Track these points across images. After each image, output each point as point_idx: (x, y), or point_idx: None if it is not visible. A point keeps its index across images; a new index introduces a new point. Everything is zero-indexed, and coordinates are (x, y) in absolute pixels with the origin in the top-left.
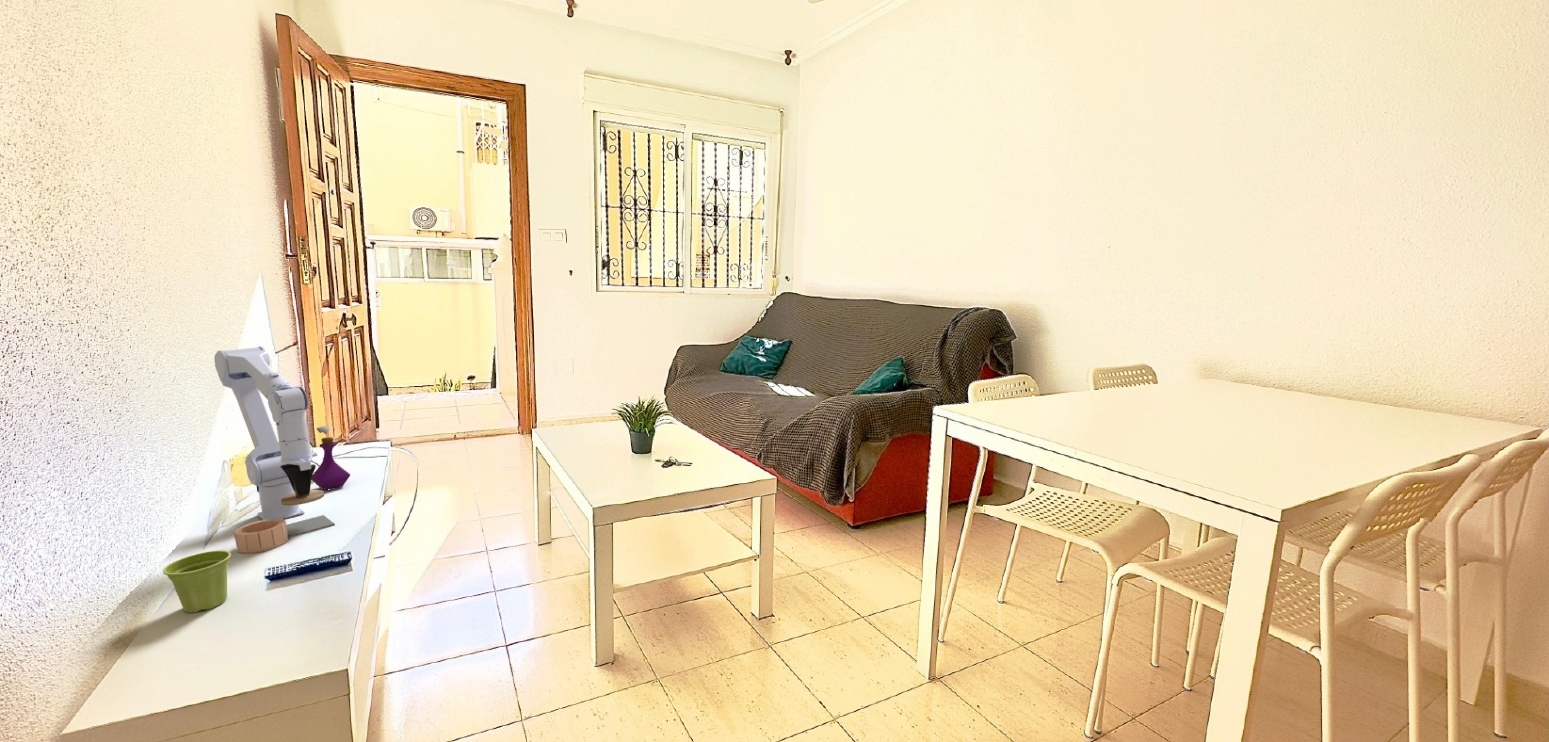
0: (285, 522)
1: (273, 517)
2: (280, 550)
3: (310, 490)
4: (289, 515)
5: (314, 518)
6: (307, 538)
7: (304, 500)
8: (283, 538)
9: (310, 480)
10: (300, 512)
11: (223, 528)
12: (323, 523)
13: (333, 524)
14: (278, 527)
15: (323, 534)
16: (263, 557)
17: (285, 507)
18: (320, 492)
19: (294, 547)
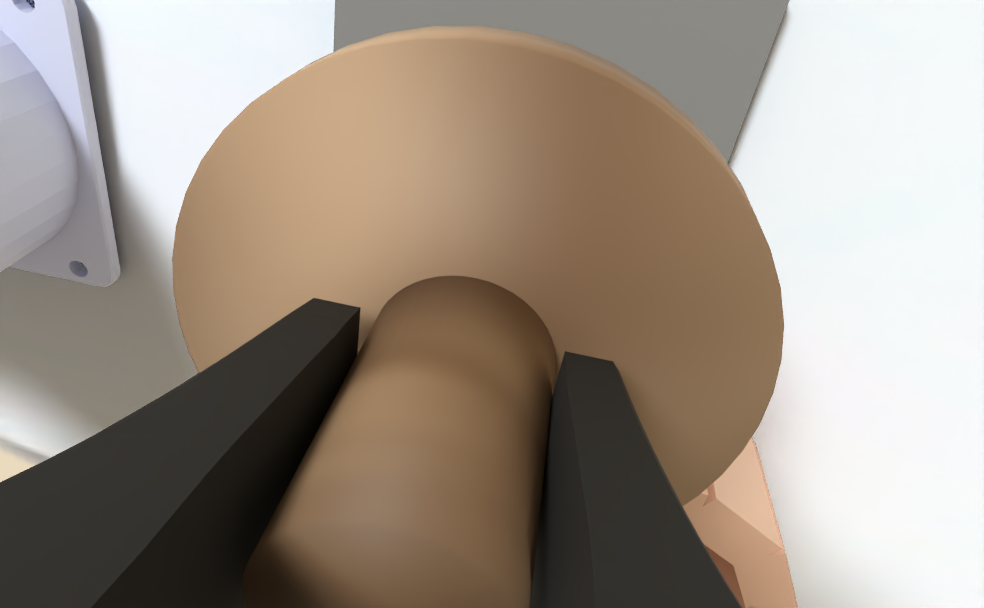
0: (719, 497)
1: (57, 230)
2: (851, 485)
3: (227, 145)
4: (77, 123)
5: (374, 27)
6: (840, 306)
7: (736, 448)
8: (757, 455)
9: (721, 589)
10: (50, 19)
11: (8, 422)
12: (645, 61)
13: (782, 8)
14: (787, 567)
15: (916, 198)
16: (846, 563)
17: (5, 174)
18: (571, 128)
19: (915, 431)
